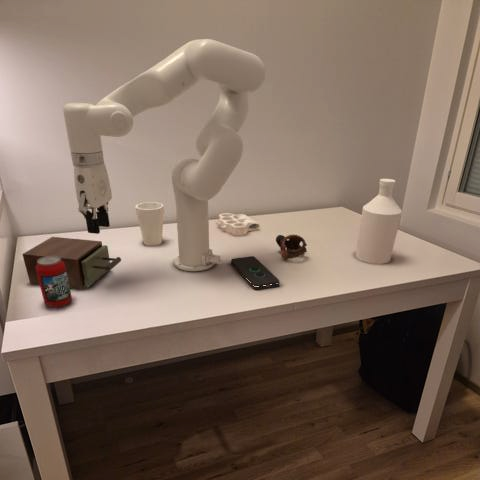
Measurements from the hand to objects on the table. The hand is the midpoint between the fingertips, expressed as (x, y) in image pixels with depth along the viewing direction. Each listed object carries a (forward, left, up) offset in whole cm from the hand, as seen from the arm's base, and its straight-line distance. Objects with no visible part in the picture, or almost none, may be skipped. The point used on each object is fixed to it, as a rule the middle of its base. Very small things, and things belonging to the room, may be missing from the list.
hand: (99, 228), depth 114 cm
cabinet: (+12, +2, -15) cm, 20 cm away
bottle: (-70, -50, -16) cm, 87 cm away
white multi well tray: (-17, -59, -16) cm, 63 cm away
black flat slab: (-38, -21, -16) cm, 46 cm away
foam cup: (+4, -32, -16) cm, 36 cm away
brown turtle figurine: (-44, -40, -16) cm, 61 cm away
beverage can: (+3, +16, -16) cm, 23 cm away
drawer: (+7, +1, -14) cm, 16 cm away
